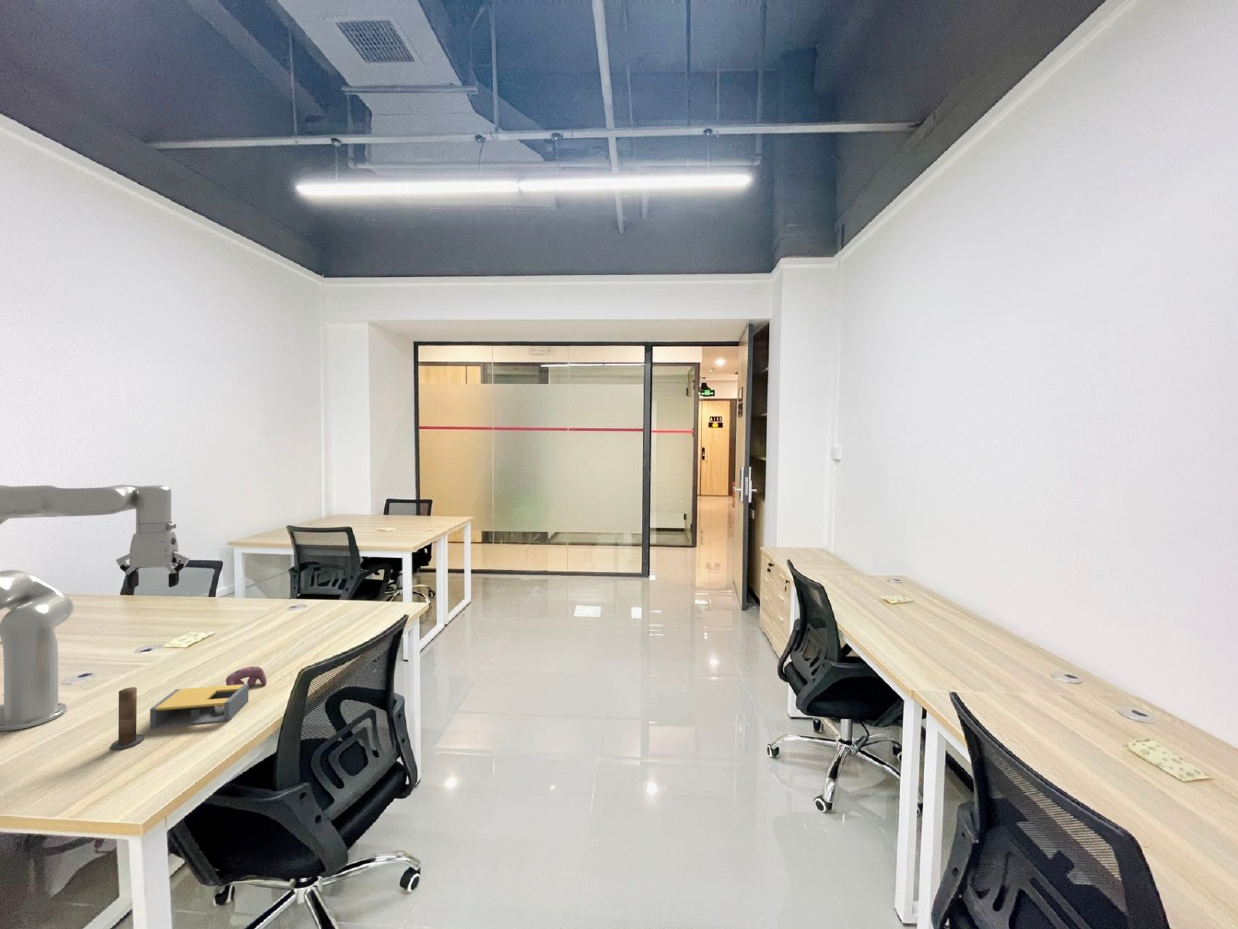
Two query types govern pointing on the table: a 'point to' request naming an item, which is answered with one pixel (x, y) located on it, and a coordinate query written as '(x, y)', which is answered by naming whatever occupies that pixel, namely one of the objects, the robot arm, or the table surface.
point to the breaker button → (219, 709)
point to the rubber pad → (119, 747)
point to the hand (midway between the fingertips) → (153, 586)
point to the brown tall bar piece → (127, 715)
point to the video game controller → (249, 672)
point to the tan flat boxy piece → (198, 705)
